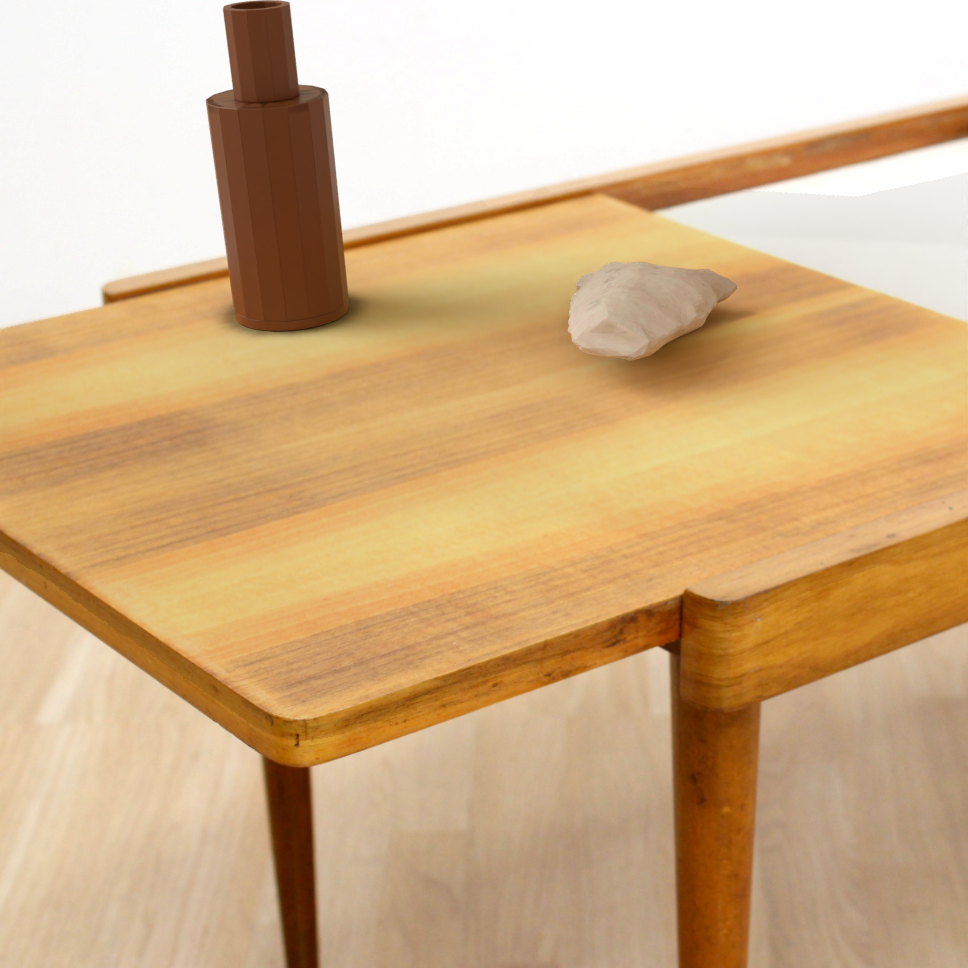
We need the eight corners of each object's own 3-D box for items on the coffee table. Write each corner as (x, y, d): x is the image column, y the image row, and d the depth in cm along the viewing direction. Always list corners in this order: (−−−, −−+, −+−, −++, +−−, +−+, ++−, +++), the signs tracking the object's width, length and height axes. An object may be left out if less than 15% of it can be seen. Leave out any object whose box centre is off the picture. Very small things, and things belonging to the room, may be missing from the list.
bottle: (270, 339, 91) (230, 19, 83) (215, 311, 96) (172, 7, 87) (370, 312, 94) (341, 3, 86) (312, 287, 99) (279, -8, 91)
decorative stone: (742, 239, 91) (694, 323, 78) (739, 309, 93) (691, 402, 80) (580, 228, 93) (508, 308, 80) (581, 297, 95) (510, 386, 82)
